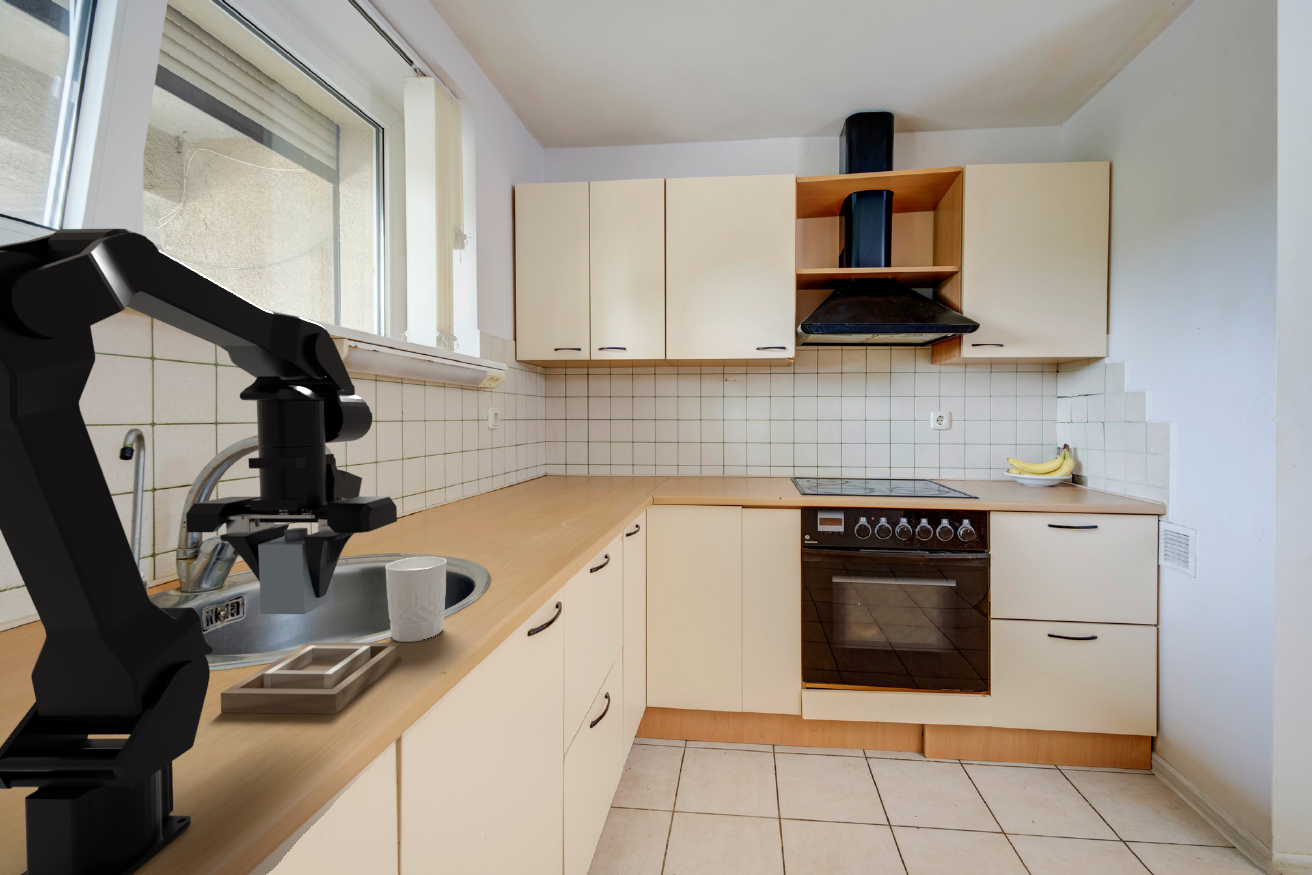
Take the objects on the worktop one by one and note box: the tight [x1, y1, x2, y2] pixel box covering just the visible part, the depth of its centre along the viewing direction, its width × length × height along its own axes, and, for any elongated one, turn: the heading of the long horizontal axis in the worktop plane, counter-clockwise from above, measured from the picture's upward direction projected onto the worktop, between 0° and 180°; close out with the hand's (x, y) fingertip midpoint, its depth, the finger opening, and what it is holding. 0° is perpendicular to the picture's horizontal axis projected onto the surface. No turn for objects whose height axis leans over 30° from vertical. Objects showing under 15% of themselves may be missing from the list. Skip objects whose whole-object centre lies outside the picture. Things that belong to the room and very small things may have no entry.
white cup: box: [385, 556, 448, 643], centre depth 76 cm, size 8×8×10 cm
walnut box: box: [220, 641, 402, 715], centre depth 61 cm, size 13×12×2 cm
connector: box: [258, 527, 335, 615], centre depth 56 cm, size 4×4×8 cm
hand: (298, 596), depth 56 cm, fingers closed on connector, 4 cm apart
